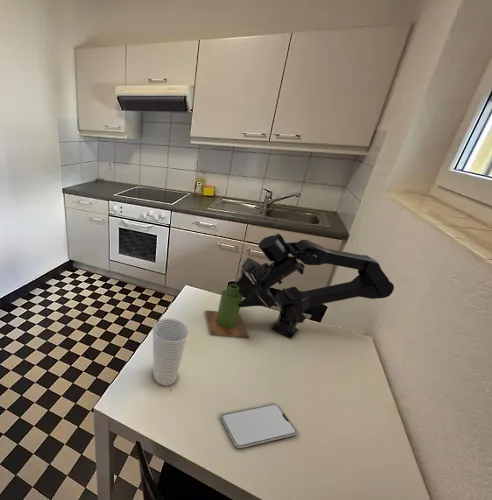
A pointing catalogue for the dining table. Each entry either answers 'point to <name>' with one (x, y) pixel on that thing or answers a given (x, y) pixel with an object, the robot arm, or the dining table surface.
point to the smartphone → (257, 425)
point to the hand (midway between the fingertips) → (234, 298)
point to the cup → (168, 349)
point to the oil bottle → (229, 307)
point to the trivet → (221, 331)
